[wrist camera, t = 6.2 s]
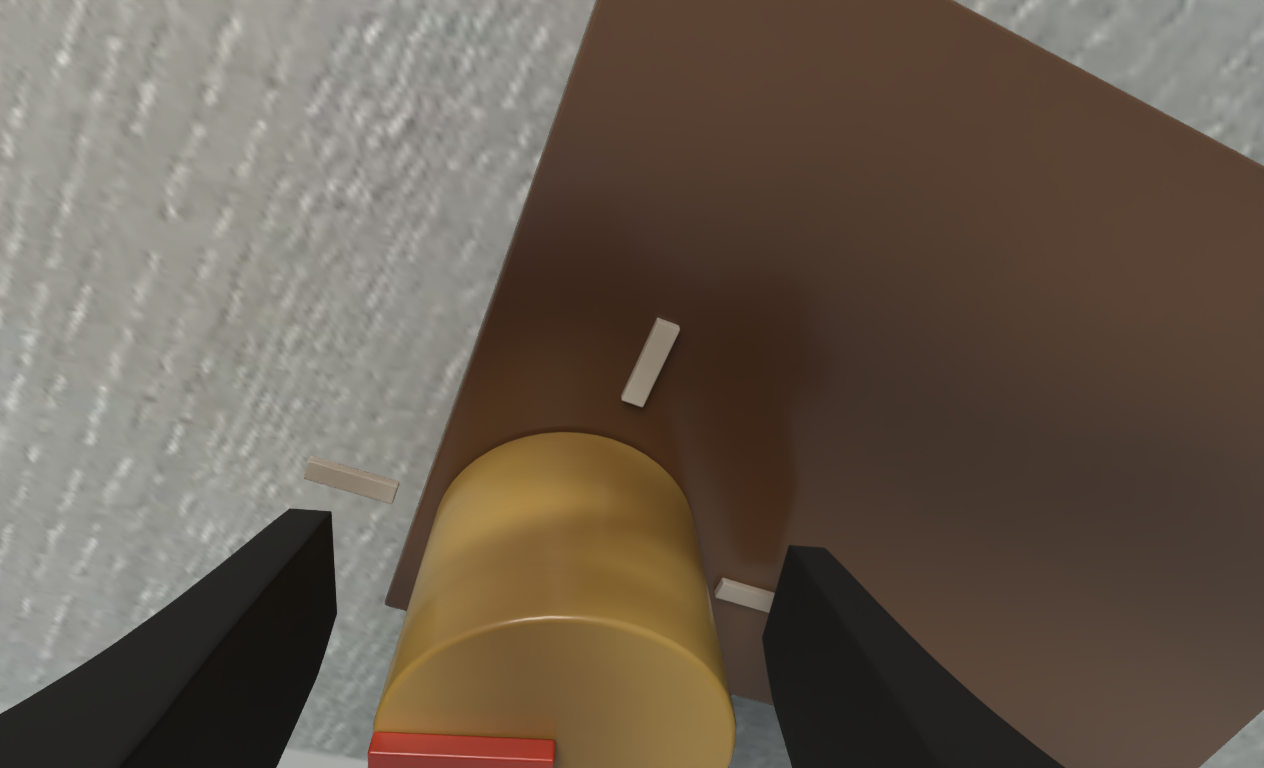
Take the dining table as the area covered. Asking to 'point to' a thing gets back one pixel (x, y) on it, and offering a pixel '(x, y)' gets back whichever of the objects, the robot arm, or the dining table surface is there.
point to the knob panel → (906, 350)
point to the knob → (558, 621)
